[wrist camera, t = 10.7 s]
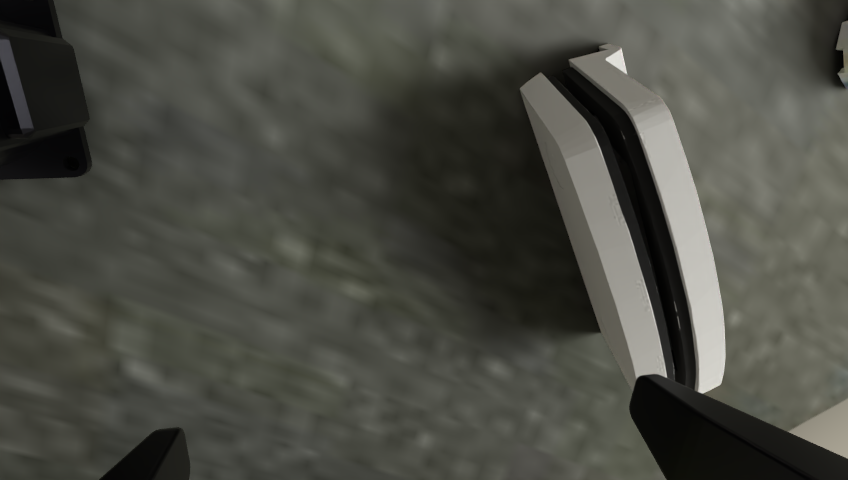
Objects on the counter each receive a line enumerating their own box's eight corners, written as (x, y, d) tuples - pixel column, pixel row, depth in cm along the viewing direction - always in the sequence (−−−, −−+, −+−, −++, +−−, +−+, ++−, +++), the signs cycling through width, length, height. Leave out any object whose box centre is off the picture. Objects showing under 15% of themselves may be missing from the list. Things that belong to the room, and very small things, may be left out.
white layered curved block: (666, 295, 28) (771, 428, 19) (593, 318, 29) (662, 455, 20) (606, 34, 21) (730, 60, 12) (512, 77, 22) (563, 129, 13)
